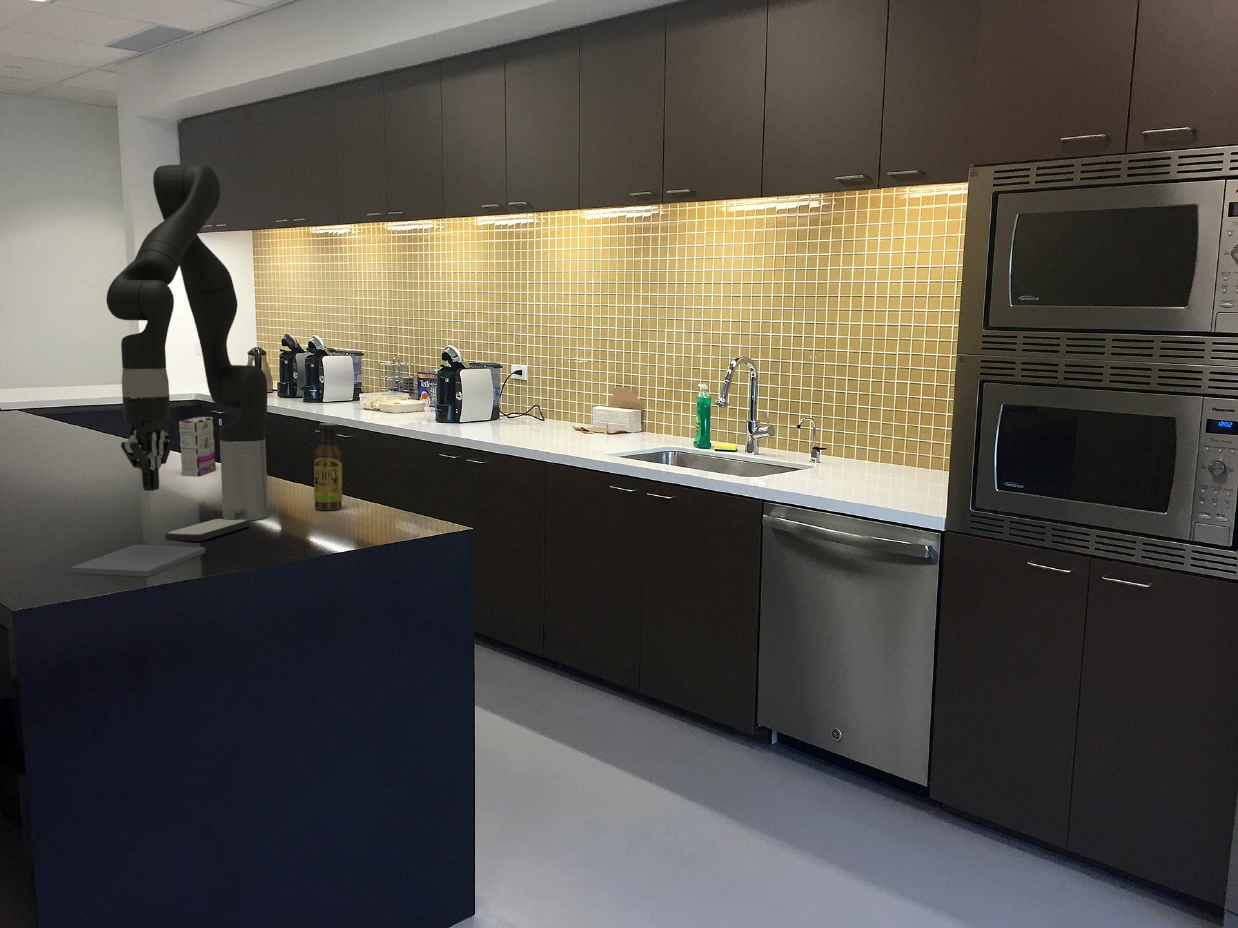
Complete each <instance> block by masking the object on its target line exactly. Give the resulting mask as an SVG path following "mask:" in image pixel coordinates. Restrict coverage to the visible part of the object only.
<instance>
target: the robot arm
mask: <svg viewBox="0 0 1238 928" xmlns="http://www.w3.org/2000/svg"><path fill="white" fill-rule="evenodd" d="M152 177H153V178H152V180H153V181H152V184H153V190H154V195H155V199H156V202H157V204H158V207H159V211H160V213H161V216H162V219H163V221H161V223H159V224H157V226H155V227H153V229H151V231H149V232H148V234H146V236H145V238H144V239H143V241H142V243H141V245H140V247H139V250H138V251H137V253H136V256H135V258H134V260H133V261H132V262H131V263H129V264H128V265H127V266H126V267H125V268H124V269H123V270H122V271H121V272H120V273H119V274H118V275H117V276H116V277H115V278H114V279H113V281H112V282H111V283H110V285H109V287H108V289H107V291H106V306H107V308H108V311H109V312H110V314H111V315H112V316H114V317H115V318H117V319H119V320H123V321H147V322H146V325H145V327H144V329H143V330H142V331H140V332H137V333H131V334H128V335H126V336H124V337H122V340H121V342H120V343H121V345H120V347H121V351H120V352H121V363H122V364H121V368H122V375H121V393H122V394H121V395H122V396H121V397H122V411H123V413H122V414H123V420H124V421H126V422H129V423H130V425H129V426H130V427H129V431H128V435H129V438H128V440H127V441H122V442H121V444H120V447H121V449H122V451H123V453H124V454H125V456H126V458H127V459H128V461H129V463H130V465H132V468H135V469H139V470H140V471H141V478H142V479H141V481H142V489H143V490H144V491H148V492H153V491H157V490H160V475H159V474H160V472H159V471H160V469H161V467H162V465H165V464H167V461H168V458H169V455H170V452H171V450H172V448H173V445H174V442H175V435H174V434H168V432H167V427H166V424H165V421H168V420H170V418H171V407H170V406H171V405H170V386H169V377H168V372H167V357H166V355H167V353H166V342H167V338H168V333H169V328H170V324H171V319H172V315H173V312H174V306H175V305H174V304H175V297H174V294H173V292H172V289H171V287H170V286H169V285H170V284H171V283H172V282H173V280H174V279H175V277H176V274H177V272H178V269H180V274H181V277H182V281H183V287H184V291H185V295H186V297H187V301H188V304H189V305H188V306H189V308H190V310H191V314H192V317H193V321H194V324H195V328H196V329H195V330H196V332H197V336H198V340H199V344H200V349H201V354H202V361H203V365H204V372H205V379H206V384H207V388H208V392H209V394H210V397H211V399H212V401H213V402H214V404H216V405H217V406H218V407H220V408H228V409H233V408H234V409H239V410H240V411H239V416H238V418H237V419H235V421H232V422H230V423H227V424H224V425H222V426H221V427H220V428H219V446H220V447H219V452H220V453H219V454H220V471H221V472H220V473H221V474H220V475H221V498H222V499H221V500H222V501H221V503H222V519H223V518H224V519H240V520H249V521H256V520H262V519H265V518H268V516H269V512H270V511H269V489H268V473H267V472H268V471H267V452H266V451H267V450H266V429H267V424H268V382H267V377H266V374H265V372H264V371H263V369H262V368H261V367H260V366H257V365H246V364H245V365H243V364H241V365H240V364H232V363H231V360H230V357H229V353H228V345H227V343H228V338H229V333H230V332H231V328H232V326H233V324H234V321H235V318H236V316H237V311H238V298H237V293H236V291H235V287H234V283H233V278H232V276H231V273H230V272H229V270H228V268H227V267H226V265H225V264H224V263H223V262H222V261H221V259H219V257H217V255H216V254H215V253H214V252H213V251H212V249H210V248H209V247H208V246H207V245H206V244H205V243H204V241H202V239H201V238H200V237H199V235H198V234H199V232H200V231H201V230H202V228H203V227H204V226H205V224H206V223H207V221H208V220H209V219H210V218H211V216H212V215H213V213H214V212H215V210H216V209H217V208H218V205H219V202H220V199H221V185H220V180H219V177H218V176H217V173H216V172H215V170H214V169H213V168H212V167H211V166H209V165H207V164H204V163H183V164H166V165H160V166H158V167H156V168H155V170H154V172H153V176H152Z"/></svg>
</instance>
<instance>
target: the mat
mask: <svg viewBox="0 0 1238 928" xmlns="http://www.w3.org/2000/svg"><path fill="white" fill-rule="evenodd" d="M203 554H206V547H201V546H199V547H197V546H196V547H195V546H180V545H179V546H178V545H175V546H174V545H158V544H157V545H153V544H133V545H130V546H127V547H124V548H122V549H118V550H116V551H113V552H110V553H107V554H105V555H101V556H99V557H96V558H93V559H90V560H87V561H84V562H81V563H79V564H76V565H73V566H70V570H69V571H70V573H71V574H80V575H99V576H104V575H105V576H116V577H117V576H119V577H121V576H122V577H140V578H142V577H143V578H148V577H150V576H154V575H155V574H156V575H157V573H160V572H163V571H165V570H167V569H170V568H173V567H175V566H177V565H180V564H182V563H185V562H187V561H189V560H192V559H194V558H196V557H199V556H201V555H202V556H203Z"/></svg>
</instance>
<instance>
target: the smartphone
mask: <svg viewBox="0 0 1238 928" xmlns="http://www.w3.org/2000/svg"><path fill="white" fill-rule="evenodd" d="M249 526H250V520H240V519H223V518H215V519H211V520H208V521H207V520H206V521H203V522H200V523H196V524H193V525H189V526H187V527H182V528H178V529H176V530H172V531H168V532H166V533H165V540H167V541H178V542H179V541H180V542H181V541H183V542H184V541H185V542H202V541H206V540H208V539H213V538H215V537H219V536H221V535H225V534H229V533H232V532H235V531H239V530H241V529H245V528H247V527H248V528H249Z"/></svg>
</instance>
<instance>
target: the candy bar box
mask: <svg viewBox="0 0 1238 928" xmlns="http://www.w3.org/2000/svg"><path fill="white" fill-rule="evenodd" d="M178 428H179V429H178V430H179V444H180V458H181V474H182V477H193V478H196V477H197V478H198V477H203V476H205V475H209V474H211V473H213V472H215V471H216V470H217V465H216V463H217V462H216V450H215V434H214V433H215V432H214V416H213V417H212V416H198V417H197V416H195V417H192V418H187V419H183V420H179V421H178Z"/></svg>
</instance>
